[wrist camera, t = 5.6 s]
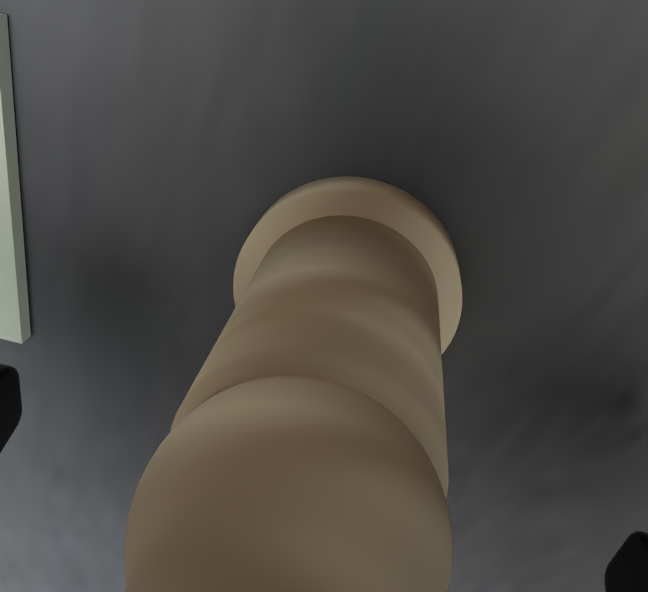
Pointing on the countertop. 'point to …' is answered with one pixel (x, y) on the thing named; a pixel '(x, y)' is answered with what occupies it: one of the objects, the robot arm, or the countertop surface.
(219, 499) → the pawn
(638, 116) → the countertop surface
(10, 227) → the pad
